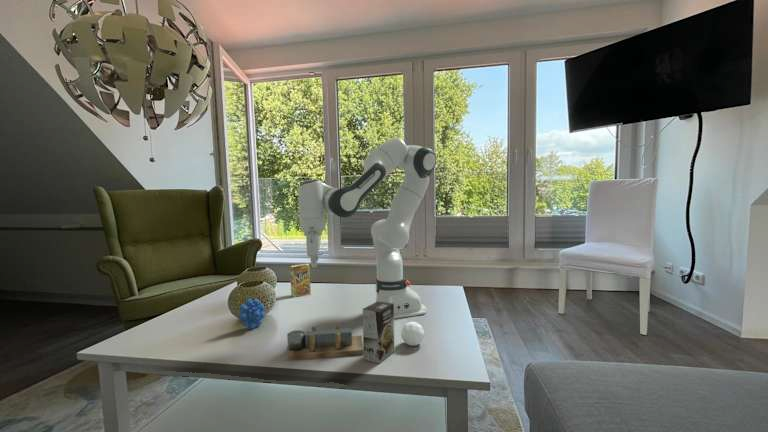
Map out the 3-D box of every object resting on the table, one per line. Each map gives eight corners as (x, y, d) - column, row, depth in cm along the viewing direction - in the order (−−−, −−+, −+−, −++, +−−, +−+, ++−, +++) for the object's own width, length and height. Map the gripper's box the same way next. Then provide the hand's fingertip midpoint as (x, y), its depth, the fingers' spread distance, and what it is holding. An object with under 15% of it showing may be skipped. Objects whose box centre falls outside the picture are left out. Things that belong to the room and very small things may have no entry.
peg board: (361, 339, 124) (360, 321, 124) (363, 354, 113) (362, 334, 113) (291, 344, 121) (290, 326, 121) (286, 360, 110) (285, 340, 110)
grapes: (247, 336, 129) (245, 304, 128) (235, 332, 133) (233, 301, 132) (272, 325, 139) (271, 295, 138) (261, 322, 142) (259, 293, 141)
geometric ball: (419, 353, 119) (429, 339, 115) (397, 347, 118) (406, 333, 113) (418, 334, 125) (427, 320, 121) (397, 328, 124) (406, 314, 120)
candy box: (294, 297, 174) (292, 266, 172) (290, 295, 177) (289, 265, 176) (310, 294, 179) (309, 264, 177) (307, 292, 182) (306, 262, 181)
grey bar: (351, 339, 121) (351, 326, 121) (352, 346, 116) (351, 333, 115) (289, 344, 119) (288, 330, 118) (286, 351, 113) (286, 338, 113)
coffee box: (380, 364, 107) (379, 312, 106) (362, 359, 110) (361, 308, 109) (395, 351, 115) (394, 303, 113) (378, 347, 118) (377, 300, 117)
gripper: (320, 228, 116) (323, 270, 117) (322, 222, 136) (324, 257, 138) (300, 230, 115) (303, 271, 117) (305, 223, 136) (308, 258, 137)
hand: (315, 264), depth 127 cm, fingers open, 8 cm apart
